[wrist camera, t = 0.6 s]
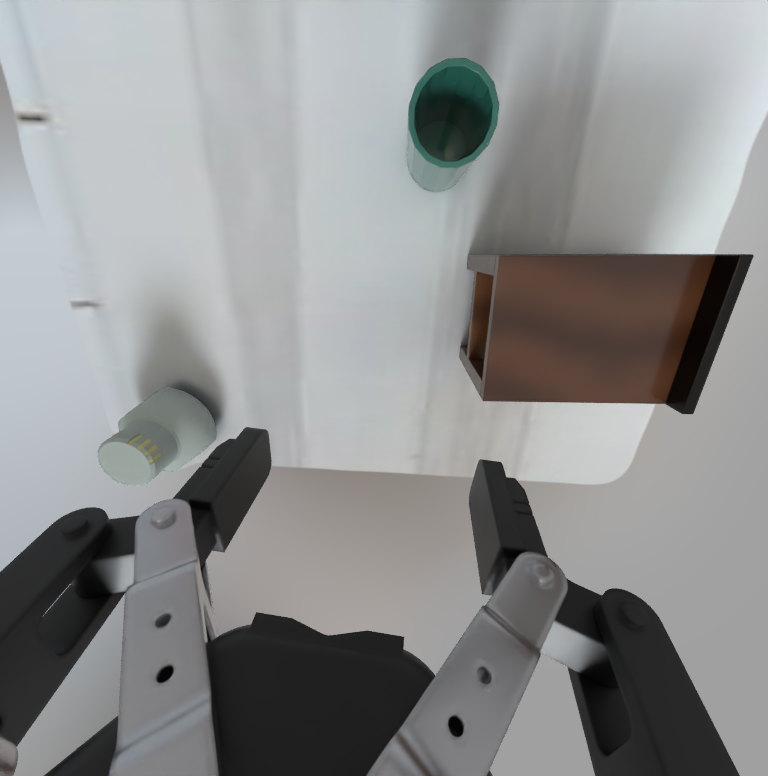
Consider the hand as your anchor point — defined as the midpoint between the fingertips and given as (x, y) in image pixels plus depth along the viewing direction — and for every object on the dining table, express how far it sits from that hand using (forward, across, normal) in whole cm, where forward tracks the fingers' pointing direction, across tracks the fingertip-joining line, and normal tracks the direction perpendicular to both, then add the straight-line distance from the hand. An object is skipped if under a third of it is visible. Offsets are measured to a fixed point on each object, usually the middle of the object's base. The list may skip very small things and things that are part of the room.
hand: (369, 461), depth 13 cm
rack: (+27, -14, 0) cm, 31 cm away
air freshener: (+23, +26, +18) cm, 40 cm away
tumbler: (+28, -2, -12) cm, 31 cm away
